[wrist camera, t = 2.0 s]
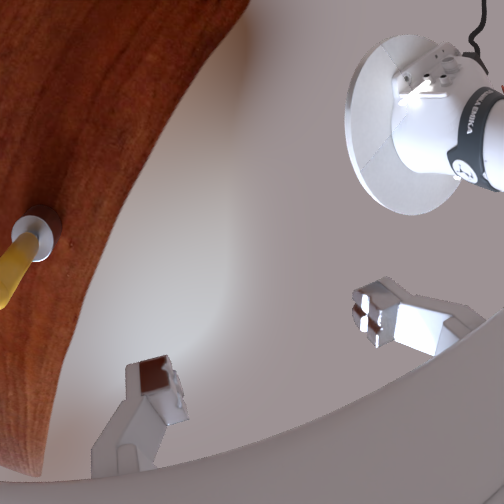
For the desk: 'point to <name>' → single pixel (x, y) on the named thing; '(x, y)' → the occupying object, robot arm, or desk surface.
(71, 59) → the desk surface
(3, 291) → the yellow lever knob
